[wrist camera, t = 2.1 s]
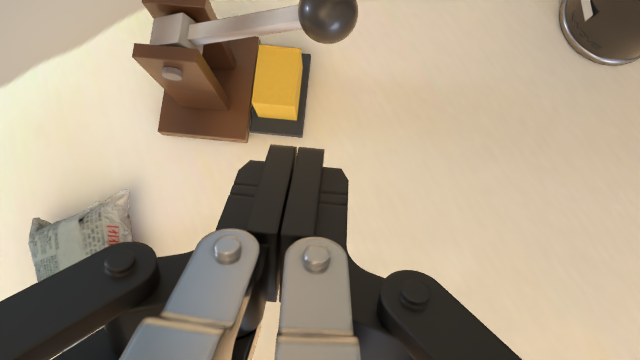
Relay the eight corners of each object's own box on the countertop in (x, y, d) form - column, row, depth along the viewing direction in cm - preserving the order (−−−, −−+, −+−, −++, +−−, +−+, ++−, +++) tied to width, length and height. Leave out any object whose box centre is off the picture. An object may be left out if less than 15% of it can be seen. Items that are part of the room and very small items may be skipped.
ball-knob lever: (368, -4, 27) (346, -40, 24) (364, 50, 27) (340, 20, 24) (184, 29, 34) (148, 4, 31) (177, 72, 34) (140, 52, 30)
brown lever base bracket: (260, 42, 42) (237, -37, 31) (247, 143, 41) (218, 100, 29) (178, 34, 42) (123, -47, 31) (162, 134, 41) (98, 89, 29)
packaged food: (140, 193, 40) (114, 186, 35) (170, 323, 38) (147, 334, 33) (47, 220, 40) (7, 217, 35) (73, 352, 38) (35, 368, 33)
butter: (310, 56, 42) (309, 33, 37) (302, 137, 41) (299, 123, 36) (261, 52, 42) (253, 28, 38) (250, 132, 41) (242, 118, 36)
